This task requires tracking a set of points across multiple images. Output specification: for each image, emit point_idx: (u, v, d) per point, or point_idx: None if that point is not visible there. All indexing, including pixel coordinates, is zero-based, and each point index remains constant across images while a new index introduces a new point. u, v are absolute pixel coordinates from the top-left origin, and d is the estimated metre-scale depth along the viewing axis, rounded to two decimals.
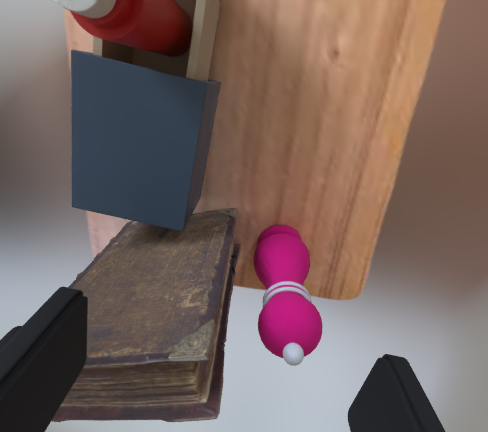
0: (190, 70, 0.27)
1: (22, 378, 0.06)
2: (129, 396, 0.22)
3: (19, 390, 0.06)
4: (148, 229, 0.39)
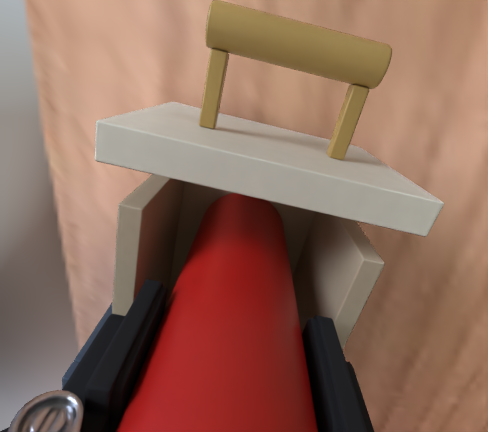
0: None
1: (138, 355, 0.08)
2: None
3: (135, 365, 0.08)
4: None
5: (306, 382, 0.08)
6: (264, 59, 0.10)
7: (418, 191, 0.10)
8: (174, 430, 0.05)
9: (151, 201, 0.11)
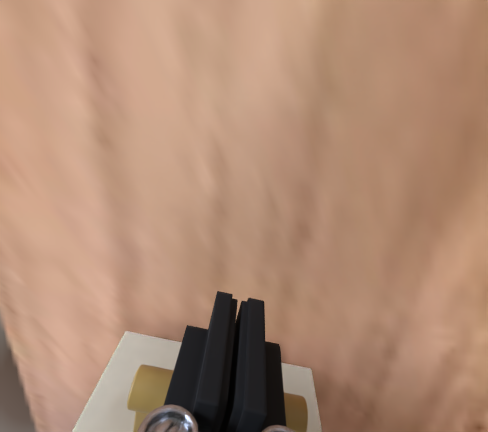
0: None
1: None
2: None
3: None
4: None
5: None
6: None
7: None
8: None
9: None
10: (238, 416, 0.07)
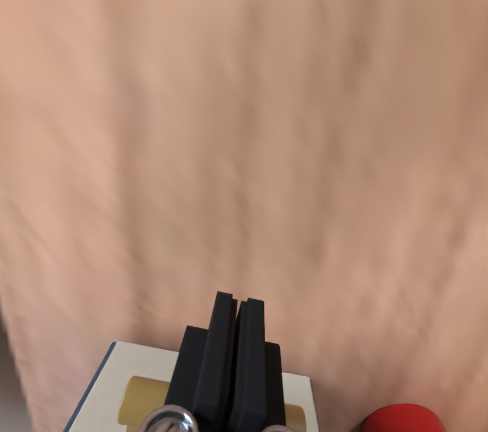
0: None
1: None
2: None
3: None
4: None
5: None
6: None
7: None
8: None
9: None
10: (238, 416, 0.07)
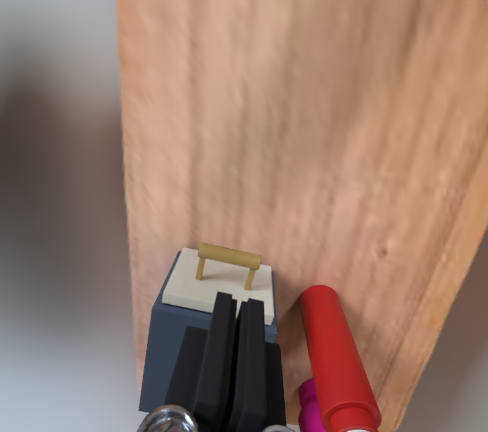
0: None
1: None
2: None
3: None
4: None
5: (362, 366, 0.29)
6: (218, 261, 0.29)
7: (268, 309, 0.29)
8: (340, 374, 0.26)
9: None
10: (238, 416, 0.07)
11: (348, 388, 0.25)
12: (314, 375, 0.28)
